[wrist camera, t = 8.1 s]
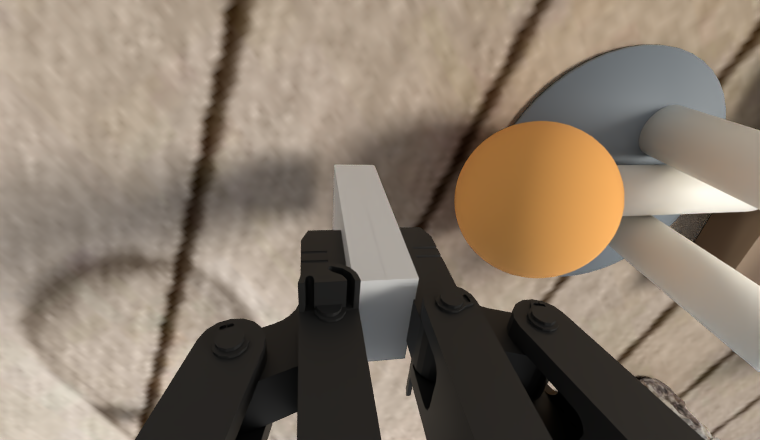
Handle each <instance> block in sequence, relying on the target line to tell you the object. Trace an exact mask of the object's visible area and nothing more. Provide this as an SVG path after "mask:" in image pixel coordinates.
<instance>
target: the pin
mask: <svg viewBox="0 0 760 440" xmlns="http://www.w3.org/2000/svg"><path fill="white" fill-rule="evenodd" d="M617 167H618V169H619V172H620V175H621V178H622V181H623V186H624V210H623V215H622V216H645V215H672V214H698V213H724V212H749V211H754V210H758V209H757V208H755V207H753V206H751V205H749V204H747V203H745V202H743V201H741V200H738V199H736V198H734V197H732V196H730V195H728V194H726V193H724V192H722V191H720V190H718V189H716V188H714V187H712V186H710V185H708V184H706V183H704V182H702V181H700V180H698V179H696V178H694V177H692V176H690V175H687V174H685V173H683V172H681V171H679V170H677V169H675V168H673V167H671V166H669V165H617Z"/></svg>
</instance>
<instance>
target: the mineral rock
mask: <svg viewBox="0 0 760 440" xmlns="http://www.w3.org/2000/svg"><path fill="white" fill-rule="evenodd" d="M639 381H640V382H641V383H642V384H643V385H644V386H646V387H647V388H648V389H649V390H650V391H651V392H652V393H653V394H655V395H656V396H657V397H658V398H659V399H660V400H661V401H662V402H663V403H665V404H666V405H667V406H668V407H669V408H670V409H671V410H672V411H674V412H675V413H676V414H677V415H678V416H679V417H680V418H681V419H682V420H684V421H685V422H686V423H687V424H688V425H689V426H690V427H691V428H693V429H694V430H695V431H696V432H697V433H698V434H699V435H700V436H701V437H703V438H704V439H705V440H720V439H718V438H716V437H713V436H711V434H710V432H709V430H708V429H707V427H705V426H704V425H703V424H701V423H700V422H699V421H698V420H697V418H696V417H695V416H694V415H693V414H692V413H691V412H690V411H689V410H688V409H687V408H686V407H685V402H684V401H683V400H682V399H681V398H680V397H678V396H677V395H676V394H674V392H673V391H672V390H671V389H670V388H669V387H668V386H667V385H665V384H664V383H662V382H661V381H659V380H657V379H652V378H642V379H641V380H639Z"/></svg>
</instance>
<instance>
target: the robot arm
mask: <svg viewBox="0 0 760 440" xmlns="http://www.w3.org/2000/svg"><path fill="white" fill-rule="evenodd" d="M298 298H299V305H298V306H297V308H296V310H295V311H294V312H293V313H292V314H291V315H290V316H288V317H287V318H285V319H284V320H282V321H280V322H277V323H275V324H272V325H269V326H266V327H263V328H261V327H260V326H259V325H258V324H256V323H255V322H253V321H250V320H246V319H229V320H226V321H223V322H219V323H217V324H215V325H213V326H212V327H210V328H209V329H207V330H206V331H205V332H204V333H203V334H202V335H201V336H200V337H199V338H198V339H197V341H196V343H195V344H194V346H193V347H192V349H191V351H190V352H189V354H188V355H187V357H186V359H185V360H184V362H183V363H182V365H181V367H180V368H179V370H178V371H177V373H176V375H175V376H174V378H173V379H172V381H171V383H170V384H169V386H168V388H167V389H166V391H165V392H164V394H163V396H162V397H161V399H160V400H159V402H158V404H157V405H156V407H155V408H154V410H153V412H152V413H151V415H150V416H149V418H148V420H147V421H146V423H145V424H144V426H143V428H142V429H141V431H140V432H139V434H138V436H137V437H136V439H135V440H267V439H268V436H269V433H270V430H271V427H272V423H273V422H275V421H277V420H280V419H282V418H284V417H286V416H289V415H291V414H293V413H295V412H297V440H381V435H380V429H379V423H378V418H377V412H376V406H375V400H374V394H373V388H372V383H371V377H370V371H369V365H368V361H379V360H391V359H403V358H405V354H406V349H407V345H408V348H409V352H410V355H411V364H410V369H409V375H408V380H407V385H406V396H409V395H411V390H412V386H413V390H414V394H415V398H416V401H417V405H418V409H419V413H420V416H421V420H422V424H423V428H424V431H425V435H426V439H427V440H705V439H704V438H703V437H701V436H700V435H699V434H698V433H697V432H696V431H695V430H694V429H693V428H691V427H690V426H689V425H688V424H687V423H686V422H685V421H684V420H682V419H681V418H680V417H679V416H678V415H677V414H676V413H675V412H674V411H672V410H671V409H670V408H669V407H668V406H667V405H666V404H665V403H663V402H662V401H661V400H660V399H659V398H658V397H657V396H656V395H655V394H653V393H652V392H651V391H650V390H649V389H648V388H647V387H646V386H644V385H643V384H642V383H641V382H640V381H639V380H638V379H637V378H636V377H634V376H633V375H632V374H631V373H630V372H629V371H628V370H627V369H625V368H624V367H623V366H622V365H621V364H620V363H619V362H618V361H617V360H615V359H614V358H613V357H612V356H611V355H610V354H609V353H608V352H606V351H605V350H604V349H603V348H602V347H601V346H600V345H599V344H597V343H596V342H595V341H594V340H593V339H592V338H591V337H590V336H589V335H587V334H586V333H585V332H584V331H583V330H582V329H581V328H580V327H578V326H577V325H576V324H575V323H574V322H573V321H572V320H571V319H570V318H568V317H567V316H566V315H565V314H564V313H563V312H561V311H560V310H559V309H557V308H556V307H554V306H552V305H550V304H548V303H545V302H543V301H538V300H532V299H531V300H522V301H520V302H518V303H517V304H516V305H515V307H514V309H513V311H512V313H510V312H505V311H500V310H494V309H489V308H485V307H482V306H479V304H478V302H477V301H476V300H475V298H474V297H473V296H472V295H471V294H470V293H468V292H467V291H465V290H464V289H462V288H459V287H457V286H456V284H455V282H454V280H453V279H452V277H451V275H450V273H449V271H448V269H447V267H446V265H445V263H444V261H443V259H442V257H440V253H439V251H438V249H437V248H436V245H435V243H434V241H433V239H432V237H431V236H430V235H429V234H428V233H426V232H425V231H424V230H423V229H422V228H420V227H412V228H399V227H398V224H397V221H396V219H395V216H394V214H393V211H392V209H391V206H390V204H389V201H388V199H387V196H386V194H385V191H384V188H383V186H382V183H381V181H380V178H379V176H378V173H377V171H376V168H375V166H374V165H334V193H333V230H317V231H308V232H307V233H306V234H305V236H304V237H303V239H302V240H301V276H300V279H299V282H298ZM549 381H550V382H551V383H552V385H553V386H554V387H555V388H556V389H557V390H558V392H556V391H554V390H553V389H552V388H551V387H549V385H548V382H549Z"/></svg>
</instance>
